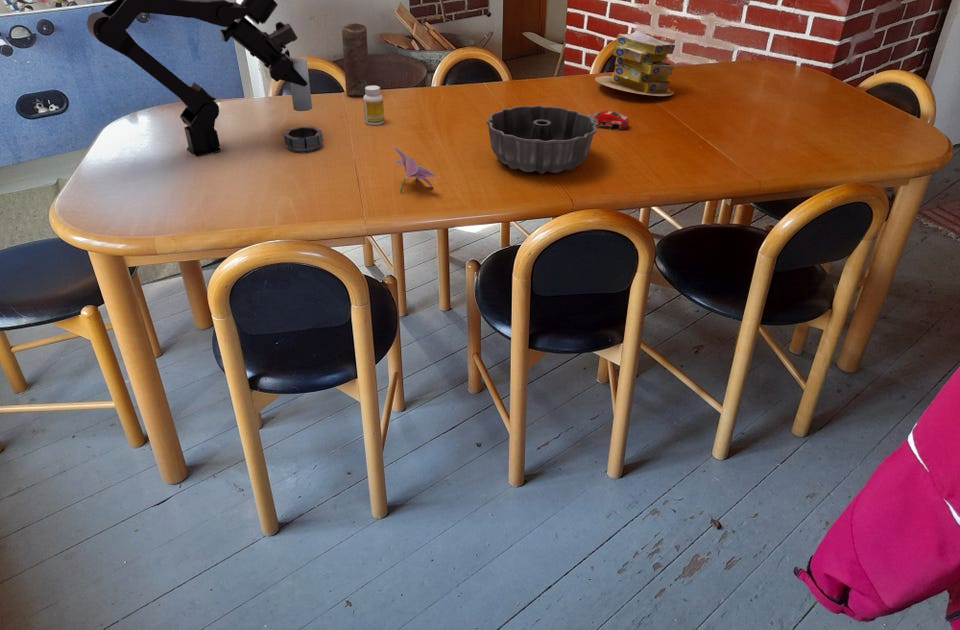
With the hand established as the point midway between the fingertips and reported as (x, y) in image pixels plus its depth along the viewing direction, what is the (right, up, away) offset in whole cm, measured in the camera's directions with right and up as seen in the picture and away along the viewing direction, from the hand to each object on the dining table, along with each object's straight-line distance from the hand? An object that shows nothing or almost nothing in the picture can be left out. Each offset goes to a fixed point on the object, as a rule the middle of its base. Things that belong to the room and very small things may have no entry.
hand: (305, 82), depth 178 cm
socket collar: (0, -16, 0) cm, 16 cm away
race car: (+79, -7, +15) cm, 81 cm away
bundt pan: (+60, -22, -6) cm, 64 cm away
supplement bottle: (+16, -6, +16) cm, 23 cm away
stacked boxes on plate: (+93, +11, +42) cm, 103 cm away
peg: (-1, -6, +3) cm, 7 cm away
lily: (+30, -31, -20) cm, 48 cm away
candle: (+8, +8, +36) cm, 37 cm away
